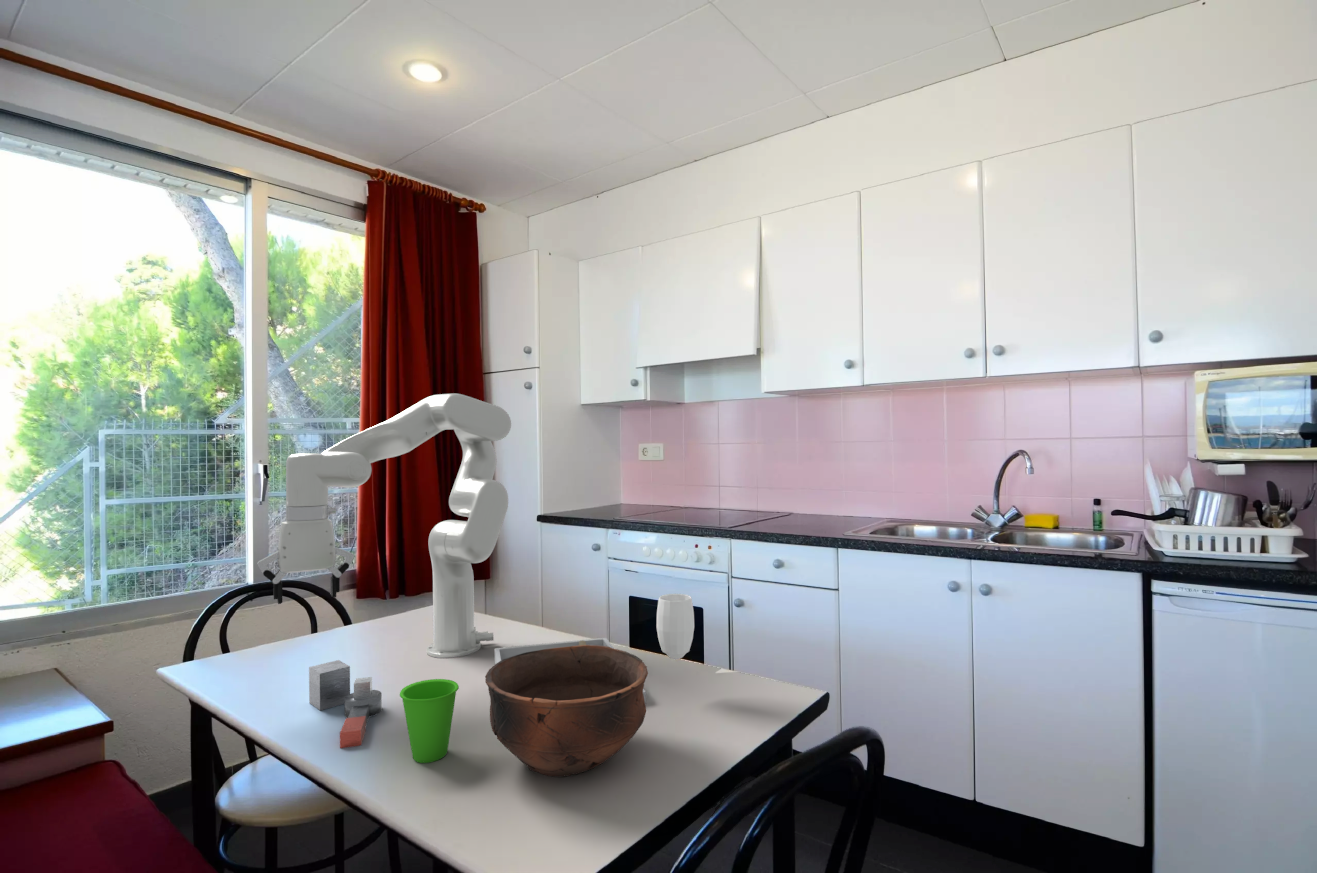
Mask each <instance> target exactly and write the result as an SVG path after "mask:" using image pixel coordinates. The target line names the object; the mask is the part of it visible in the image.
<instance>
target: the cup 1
mask: <svg viewBox="0 0 1317 873" xmlns="http://www.w3.org/2000/svg"><path fill="white" fill-rule="evenodd" d="M459 687H460V686H459V684H458V683H457V681H454V680H450V679H446V678H445V679H443V678H435V679H424V680H420V681H416V682H413V683H410V684H408V685H406V686H404V687H403V688H402V689H401V690H400V692H399V697H400V698H401V699H402V703H403V705H402V706H403V710H404V715H405V721H406V726H407V733H408V738H409V742H410V750H411V755H412V758H413V760H414V761H415V762H416V763H420V764H429V763H433V762H438V761H439V760H442V758H444V757H445V756H446V755H447V753H448V749H449V743H450V737H451V728H452V721H453V713H454V710H455V709H454V708H455V700H456V695H457V691H458V690H459V689H460V688H459Z"/></svg>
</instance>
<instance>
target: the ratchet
mask: <svg viewBox="0 0 1317 873" xmlns="http://www.w3.org/2000/svg"><path fill="white" fill-rule="evenodd" d="M382 698H383V697H382V691H381V690H378V689H373V677H372V676H369V677H368V676H367V677H358V678H355V680H354V682H353V692H352V693H351V692H350V694H349V695H347V696H346V697H345V704H344V717H345V719H344V722H343V724H342V727H341V729H340V731H339V748H340V749H345V748H346V749H347V748H352V747H360V746H362V743H363V740H364V738H365V735H366V732H367V725H368V722H369V719H370V718H371V717H374V716H377V715H378V714H380V713H381V711H382V709H383V708H382V704H383V703H382V700H383V699H382Z"/></svg>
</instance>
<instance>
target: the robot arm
mask: <svg viewBox="0 0 1317 873" xmlns="http://www.w3.org/2000/svg"><path fill="white" fill-rule="evenodd" d="M511 428H512V420H511V417H510V415H509V414H508V412H507V411H506V410H505V409H504V408H503V407H500V406H498V405H496V404H493V403H489V402H486V401H484V400H483V401H482V400H481V399H480V400H479V399H477V398H474V397H472V396H468V395H465V394H463V393H462V394H461V393H454V392H453V393H442V394H441V393H439V394H438V393H437V394H433V395H430V396H427V397H425V398H423V399H421V400H419V401H418V402H417V403H415V404H413V405H411V406H410V407H408V408H406V409H405V410H403V411H401V412H400V413H398V414H396V415H394V416H393V417H392V416H391V418H388V419H387V420H385V421H383V422H380V423H378V424H376V425H374V426H372V427H371V426H370V427H369V428H366V429H365V430H362V431H359V432H357V433H356V434H354V435H352V436H349V437H347V438H346V439H343V440H341V441H340V442H338V443H336V444H333V446H331V447H329V448H327V449H326V450H324V451H323V452H321V453H316V452H315V453H311V452H310V453H308V452H307V453H292V454H290V455H288V456H287V458H286V462H285V470H286V471H285V483H286V484H285V487H286V488H285V490H286V492H285V499H286V501H285V503H286V504H285V521H282V522H281V525H280V530H279V534H278V547H277V550H276V551H275V552H273V553H272V554H270V555H268V556H266V557H264V558H262V559H260V560H258V562H257V563H256V565H257V567H258V568H259V570H260V571H261V573H262V574H263V576H264V577H265V578H266V579H267V580H269V581H270V582H271V583H272V584H273V600H277V601H276V602H277V604H278V605H280V604H282V603H283V582H282V579H283V578H284V577H285V576H286V575H287V574H293V573H294V574H295V573H304V572H305V573H306V572H313V571H324V570H329V572H330V573H331V576H330V596H331V597H332V598H333V599H334V598H337V593H340V591H341V590H340V589H341V588H340V582H341V581H340V579H341V578H340V577H341V576H342V575H343V574H344V573H345V572H346V571H347V570H348V569H349V568H350V566H351V565H350V564H352V562H353V560H354V557H355V554H354V553H352V552H350V551H348V550H345V549H342V548H340V547H337V546H336V542H335V532H334V526H333V521H332V519H330V518H329V517H330V515H334V514H335V515H336V512H337V508H336V507H335V506H334V507H332V506H330V505H329V487H333V488H334V487H335V488H337V487H338V488H345V489H346V488H347V489H352V488H356V487H357V488H358V487H360V486H362V485H363V484H365V483H366V482H368V480H369V479H370V478H371V475H372V471H373V470H372V464H373V463H375V462H379V461H381V460H385V459H390V458H395V457H399V456H401V455H405V454H407V453H410V452H411V451H413V450H414V449H415V448H417V447H419V446H420V445H422V444H423V443H425V442H427V441H428V440H430V439H431V438H432V437H435V436H436V435H438V434H439V433H441V432H443V431H445V430H451V431H452V430H453V431H454V433H455V435H456V437H457V439H458V441H459V443H460V446H461V450H462V459H461V464H460V466H459V469H458V472H457V475H456V478H455V479H454V483H453V486H452V489H451V492H450V495H449V497H448V506H449V509H450V511H451V512H453V513H454V514H455V515H457V516H461V517H467V518H468V519H467V520H458V519H447V520H443V521H440V522H437V524H435V525H434V526H433V528H432V529H431V531H430V533H429V536H428V541H427V542H428V551H429V552H428V553H429V556H430V561H431V569H432V616H433V617H432V619H433V620H432V622H433V623H432V626H433V628H432V629H433V632H432V634H433V640H432V641H433V642H432V643H430V644H429V645H428V646H427V647H426V654H427V655H428V656H430V657H432V658H437V659H438V658H440V659H449V658H458V657H459V658H460V657H463V656H466V655H470V654H474V653H475V652H478V650H480V649H481V647H482V643H481V642H491V641H494V632H489V631H488V630H487V631H478V630H477V631H476V626H475V592H474V591H475V590H474V589H475V588H474V587H475V586H474V585H475V581H474V578H475V577H474V570H473V567H472V564H479V563H482V562H484V561H486V560H487V559H488V558H489V557H490V556H491V554H492V553H493V551H494V549H495V547H496V544H497V541H498V538H499V536H500V532H501V529H502V526H503V523H504V520H505V518H506V515H507V512H508V507H509V494H508V491H507V489H506V487H505V486H504V485H503V483H502V482H500V481H498V480H495V479H494V475H495V472H496V469H497V462H498V461H497V453H496V450H495V447H494V445H493V443H492V442H498V441H501V440H502V439H505V438H506V437H507V436H508V435H509V433H510V431H511ZM336 555H337V556H340V557H343V558H344V560H343V562H342V563H341V564H340V565H339V566H338V567H336V566H335V565H336ZM274 561H277V567H278V568H279V569H278V570H277V571H276V573H274V572H272V571H271V570H270V569H269V567H268V565H269V564H271V563H272V562H274Z"/></svg>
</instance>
